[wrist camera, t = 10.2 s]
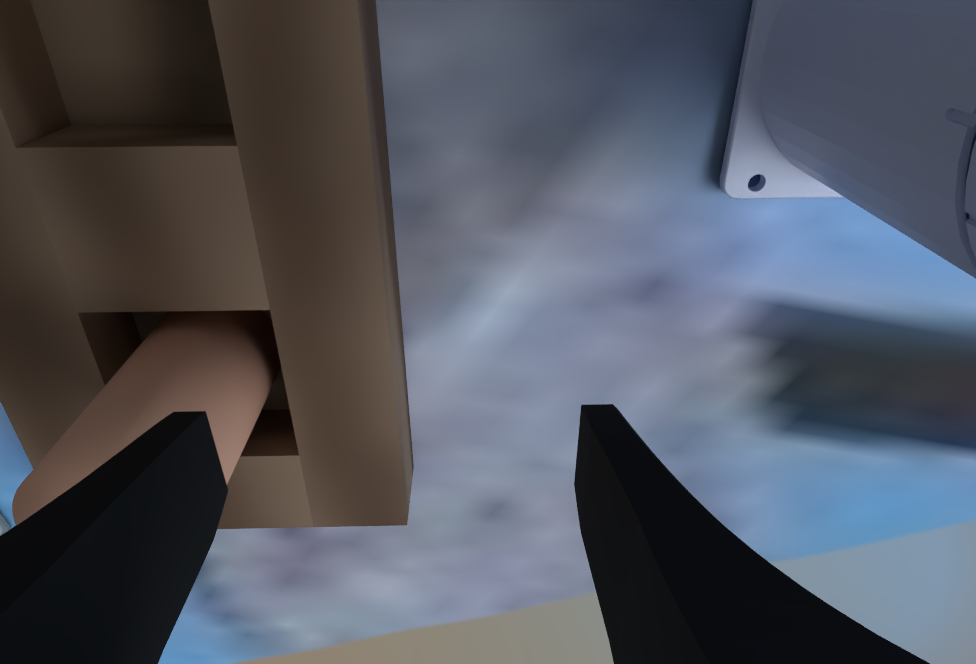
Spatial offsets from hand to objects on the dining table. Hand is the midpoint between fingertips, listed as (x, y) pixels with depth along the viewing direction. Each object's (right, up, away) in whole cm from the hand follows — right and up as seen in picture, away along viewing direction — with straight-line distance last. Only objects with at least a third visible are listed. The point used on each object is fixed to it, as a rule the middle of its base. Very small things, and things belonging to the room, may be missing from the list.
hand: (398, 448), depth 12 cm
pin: (-7, +2, +9) cm, 12 cm away
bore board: (-7, +6, +7) cm, 12 cm away
